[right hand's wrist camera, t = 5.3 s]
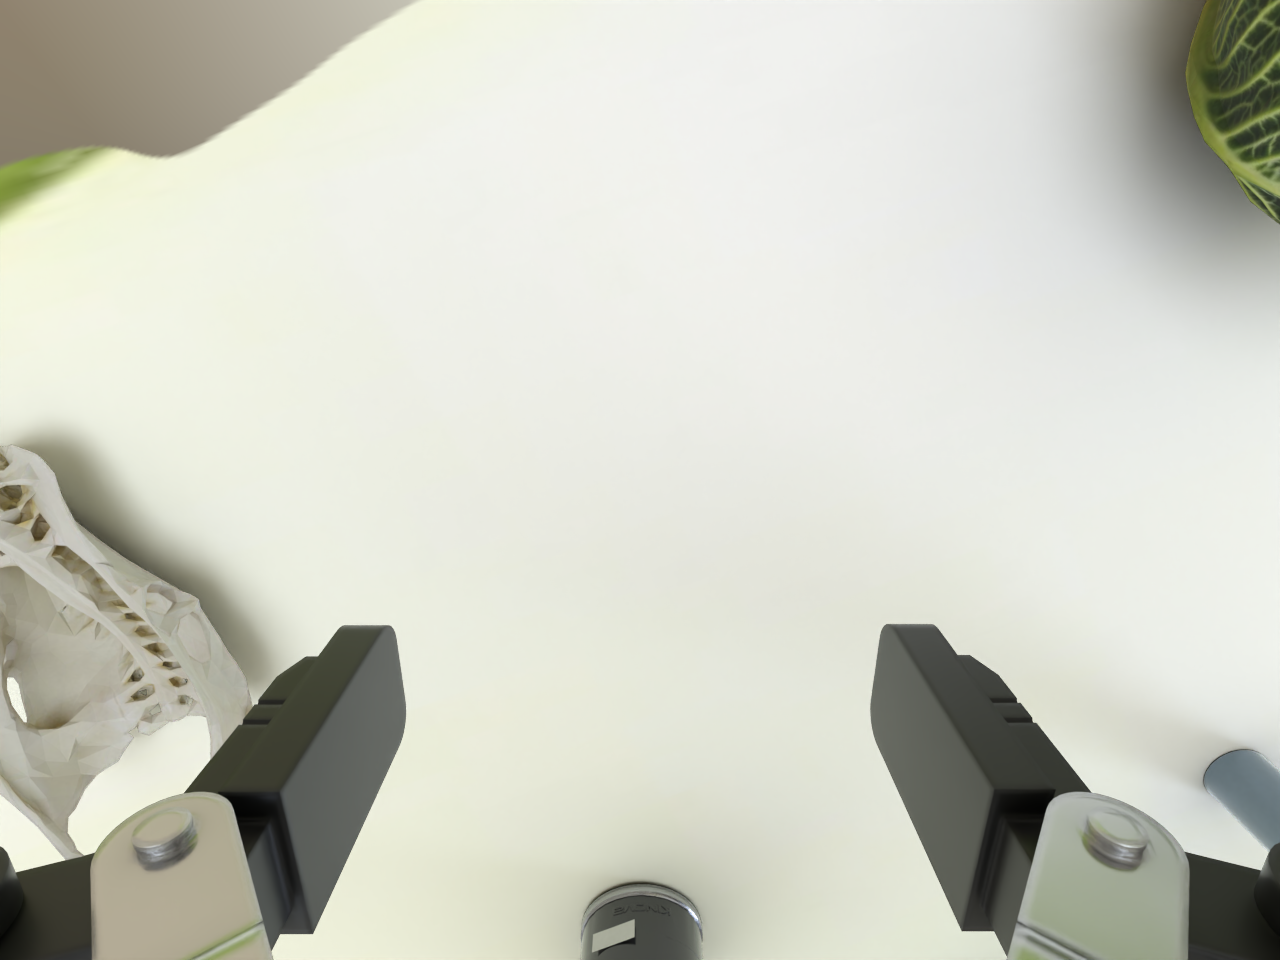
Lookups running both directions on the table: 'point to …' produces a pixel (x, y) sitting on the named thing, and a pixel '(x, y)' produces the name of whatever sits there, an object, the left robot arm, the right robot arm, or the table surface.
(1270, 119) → the vegetable
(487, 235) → the table surface
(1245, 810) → the blue slim bottle
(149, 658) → the anatomical model
